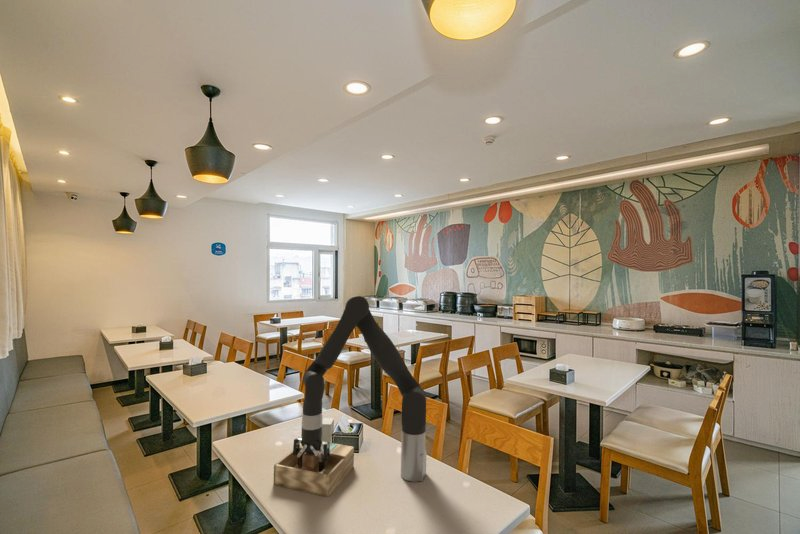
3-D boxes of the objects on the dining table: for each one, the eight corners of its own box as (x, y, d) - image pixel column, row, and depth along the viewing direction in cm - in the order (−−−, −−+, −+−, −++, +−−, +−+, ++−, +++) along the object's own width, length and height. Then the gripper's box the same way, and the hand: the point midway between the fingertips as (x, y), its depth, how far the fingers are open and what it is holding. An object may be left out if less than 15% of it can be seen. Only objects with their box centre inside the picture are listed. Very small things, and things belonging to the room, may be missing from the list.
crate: (353, 466, 143) (354, 446, 143) (327, 497, 123) (328, 473, 123) (305, 457, 150) (306, 437, 150) (273, 484, 130) (274, 462, 130)
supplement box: (330, 454, 152) (331, 424, 153) (312, 454, 153) (313, 424, 153) (333, 446, 160) (334, 417, 160) (317, 445, 160) (318, 417, 160)
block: (319, 471, 135) (319, 451, 135) (312, 477, 130) (313, 456, 131) (308, 469, 136) (309, 449, 136) (302, 475, 132) (302, 454, 132)
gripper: (334, 423, 135) (332, 467, 135) (301, 418, 139) (299, 460, 139) (324, 431, 128) (322, 477, 128) (289, 425, 132) (288, 470, 132)
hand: (310, 468), depth 133 cm, fingers open, 8 cm apart
